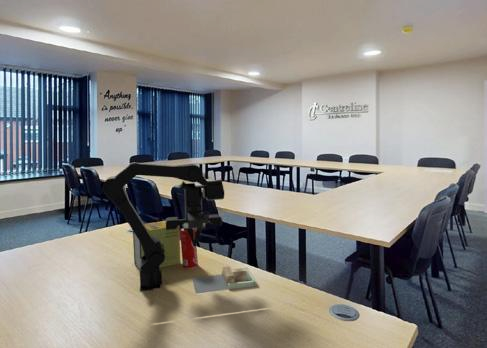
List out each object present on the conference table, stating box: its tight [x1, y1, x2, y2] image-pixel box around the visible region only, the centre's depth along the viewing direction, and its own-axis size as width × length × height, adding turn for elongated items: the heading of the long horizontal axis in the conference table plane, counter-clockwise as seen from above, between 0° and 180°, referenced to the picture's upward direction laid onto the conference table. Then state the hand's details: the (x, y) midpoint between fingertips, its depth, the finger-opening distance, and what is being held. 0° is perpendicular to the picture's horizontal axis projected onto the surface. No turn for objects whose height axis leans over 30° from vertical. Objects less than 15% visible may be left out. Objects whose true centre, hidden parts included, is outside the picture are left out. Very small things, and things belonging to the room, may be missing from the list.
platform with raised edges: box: [192, 267, 258, 294], centre depth 113 cm, size 20×12×2 cm, turn 104°
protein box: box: [132, 220, 181, 270], centre depth 129 cm, size 10×15×16 cm
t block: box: [222, 266, 247, 286], centre depth 114 cm, size 7×8×4 cm
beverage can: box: [180, 227, 199, 270], centre depth 126 cm, size 6×6×15 cm
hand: (194, 246), depth 114 cm, fingers closed
